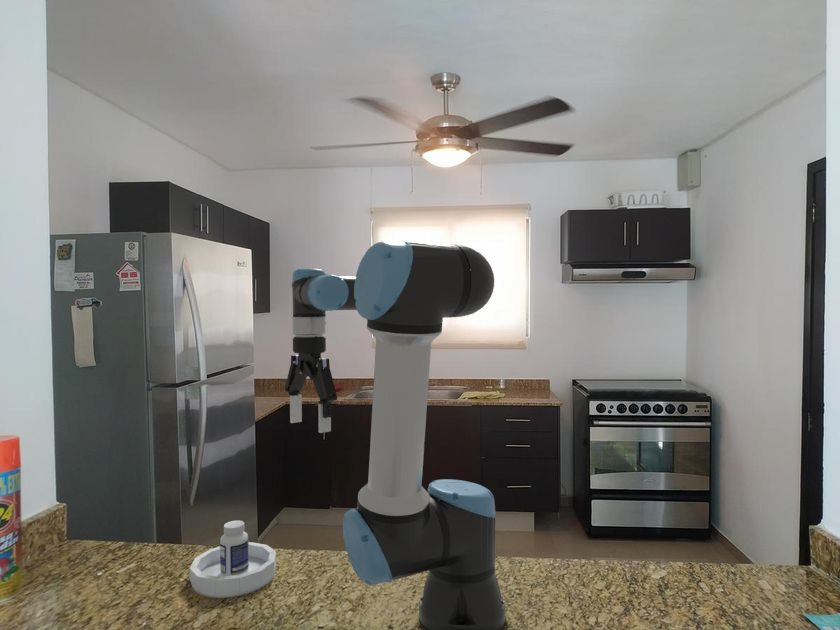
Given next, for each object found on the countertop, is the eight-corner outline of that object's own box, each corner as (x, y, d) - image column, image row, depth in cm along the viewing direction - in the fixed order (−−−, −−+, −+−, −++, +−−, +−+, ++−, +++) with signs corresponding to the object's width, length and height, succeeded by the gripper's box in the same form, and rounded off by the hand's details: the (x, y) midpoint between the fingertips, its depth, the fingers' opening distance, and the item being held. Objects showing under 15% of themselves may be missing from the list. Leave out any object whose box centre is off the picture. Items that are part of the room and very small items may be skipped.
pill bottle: (252, 566, 112) (252, 519, 112) (241, 579, 106) (241, 529, 106) (227, 565, 112) (227, 518, 112) (215, 578, 107) (215, 528, 107)
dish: (289, 578, 108) (288, 561, 108) (208, 607, 98) (207, 588, 98) (255, 551, 121) (255, 536, 121) (180, 574, 110) (180, 557, 110)
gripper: (352, 337, 118) (353, 433, 119) (298, 333, 137) (298, 416, 138) (322, 338, 114) (323, 439, 114) (270, 334, 133) (271, 420, 133)
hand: (309, 427), depth 126 cm, fingers open, 13 cm apart
